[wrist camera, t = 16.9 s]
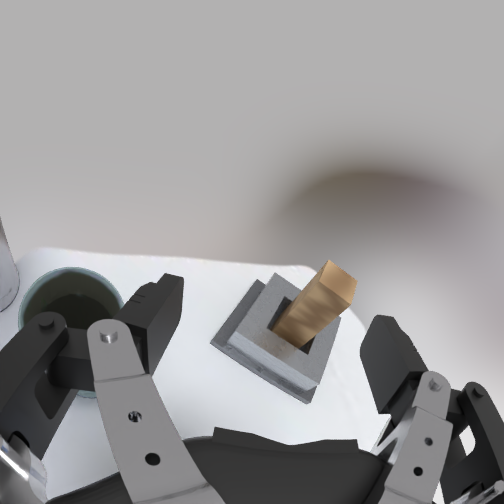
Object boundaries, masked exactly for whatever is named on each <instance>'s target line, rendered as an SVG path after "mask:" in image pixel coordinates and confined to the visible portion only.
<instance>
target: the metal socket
mask: <svg viewBox="0 0 504 504" xmlns="http://www.w3.org/2000/svg"><path fill="white" fill-rule="evenodd" d="M300 292H301V290H300V289H298V288H297V287H295V286H294V285H293V284H291V283H290V282H288V281H287V280H285V279H284V278H282V277H281V276H279V275H278V274H277V273H274V274H273V276H272V277H271V279H270V280H269V281H268V283H267V284H266V285H265V284H264V283H262V282H261V281H259V280H258V279H257V280H256V281H255V283H254V284H253V285H252V287H251V288H250V289H249V291H248V292H247V294H246V295H245V296H244V298H243V299H242V300H241V302H240V303H239V304H238V306H237V307H236V309H235V310H234V311H233V313H232V314H231V315H230V317H229V318H228V319H227V321H226V322H225V323H224V325H223V326H222V327H221V329H220V330H219V331H218V333H217V334H216V335H215V337H214V338H213V339H212V341H211V342H210V344H212V345H213V346H215V347H216V348H218V349H219V350H220V351H222V352H223V353H225V354H226V355H228V356H229V357H231V358H232V359H234V360H235V361H237V362H238V363H240V364H241V365H243V366H244V367H246V368H247V369H249V370H250V371H252V372H254V373H255V374H257V375H258V376H260V377H261V378H263V379H265V380H266V381H268V382H269V383H271V384H273V385H274V386H276V387H278V388H279V389H281V390H283V391H284V392H286V393H288V394H290V395H291V396H293V397H295V398H297V399H298V400H300V401H302V402H304V403H305V404H308V403H311V400H312V398H313V395H314V393H315V390H316V387H317V385H319V384H320V381H321V378H322V375H323V373H324V370H325V367H326V364H327V361H328V358H329V355H330V352H331V349H332V346H333V343H334V340H335V337H336V333H337V330H338V327H339V324H340V320H341V317H339V316H338V317H336V318H335V319H334V320H333V321H332V322H331V323H330V324H328V325H327V326H326V327H325V328H324V329H322V330H321V331H320V332H319V333H318V334H316V335H315V336H314V337H313V338H312V339H310V340H309V341H308V342H307V343H305V344H304V345H303V346H302V347H300V348H299V349H298V348H296V347H294V346H293V345H291V344H290V343H288V342H287V341H285V340H284V339H282V338H281V337H279V336H278V335H276V334H275V333H273V332H272V331H270V328H271V327H272V325H273V324H274V322H275V320H276V319H277V318H278V317H279V316H280V314H281V313H282V312H283V311H284V310H285V309H286V308H287V307H288V306H289V305H290V304H291V302H292V301H293V300H294V299H295V298H296V297H297V296H298V295H299V293H300Z"/></svg>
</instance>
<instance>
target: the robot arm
mask: <svg viewBox="0 0 504 504" xmlns="http://www.w3.org/2000/svg"><path fill="white" fill-rule="evenodd" d="M18 287H19V274H18V272H17V269H16V266H15V264H14V261H13V258H12V255H11V252H10V249H9V246H8V242H7V239H6V236H5V233H4V229H3V226H2V222H1V218H0V311H2V310H3V309H5V308H6V307H7V306H8V305H9V304H10V303H11V302H12V301H13V299H14V298H15V296H16V294H17V291H18ZM183 287H184V278H183V277H180V276H175V275H171V274H167V273H165V274H164V275H163V276H162V277H161V278H160V280H159V281H158V282H157V283H152V282H149V283H147V284H145V285H143V286H141V287H140V288H139V289H138V290H137V291H136V292H135V293H134V295H133V296H132V297H131V298H130V299H129V301H127V302H126V304H125V305H124V306H123V307H122V308H121V309H120V311H119V312H118V313H117V314H116V315H115V316H114V317H113V319H104V320H100V321H97V322H95V323H93V324H92V325H91V326H90V327H89V329H88V330H83V329H75V328H68V327H67V325H66V321H65V319H64V317H63V316H62V315H60V314H58V313H56V312H43V313H40V314H37V315H36V316H34V317H33V318H32V319H31V320H30V321H29V322H28V323H27V324H26V325H25V326H24V327H23V328H22V329H21V330H20V331H19V332H18V333H17V334H16V335H15V336H14V337H13V338H12V339H11V340H10V341H9V342H8V343H7V345H6V346H5V347H4V348H3V349H2V350H1V351H0V504H436V503H435V502H433V501H432V500H433V497H434V494H435V491H436V489H437V486H438V483H439V480H440V484H441V488H442V493H443V498H444V503H445V504H504V423H503V421H502V419H501V417H500V415H499V413H498V411H497V409H496V407H495V405H494V403H493V401H492V400H491V398H490V396H489V394H488V392H487V391H486V390H485V389H484V387H482V386H481V385H480V384H478V383H476V382H469V383H467V384H466V386H465V387H464V388H463V390H462V391H459V390H454V389H451V386H450V384H449V383H448V381H447V379H446V378H445V377H444V376H442V375H441V374H439V373H437V372H433V371H429V370H428V369H427V367H426V365H425V364H424V362H423V360H422V358H421V356H420V355H419V353H418V352H417V349H416V348H415V346H413V343H412V341H411V339H410V338H409V336H408V335H407V334H406V333H405V332H403V331H402V330H401V329H400V327H399V325H398V324H397V322H396V320H395V319H394V317H391V316H384V315H376V316H375V317H374V319H373V321H372V323H371V325H370V327H369V329H368V331H367V333H366V335H365V338H364V340H363V342H362V344H361V347H360V358H361V361H362V364H363V367H364V370H365V373H366V376H367V379H368V382H369V385H370V388H371V391H372V394H373V397H374V401H375V404H376V407H377V410H378V414H390V415H391V417H390V418H389V419H388V421H387V422H386V424H385V426H384V428H383V430H382V432H381V434H380V435H379V437H378V439H377V441H376V443H375V445H374V446H373V448H372V450H371V452H367V451H364V450H361V449H359V448H358V443H357V439H352V440H321V441H316V442H310V443H304V444H298V445H286V444H283V443H279V442H276V441H273V440H270V439H267V438H264V437H261V436H258V435H255V434H252V433H246V432H240V431H234V430H229V429H223V428H218V427H215V428H214V433H213V436H202V437H193V438H188V439H184V440H181V438H180V436H179V434H178V432H177V430H176V428H175V426H174V424H173V422H172V420H171V418H170V416H169V414H168V412H167V410H166V408H165V406H164V404H163V402H162V400H161V397H160V395H159V393H158V391H157V388H156V386H155V384H154V382H153V379H152V376H153V374H154V371H155V369H156V367H157V365H158V363H159V361H160V359H161V357H162V355H163V353H164V351H165V350H166V348H167V346H168V344H169V342H170V340H171V338H172V336H173V334H174V332H175V330H176V328H177V326H178V324H179V321H180V317H181V312H182V300H183ZM79 390H84V391H91V392H96V396H97V400H98V404H99V408H100V412H101V416H102V420H103V423H104V427H105V430H106V434H107V437H108V440H109V443H110V446H111V449H112V452H113V455H114V458H115V461H116V463H117V466H118V469H119V472H117V473H115V474H113V475H111V476H108V477H106V478H104V479H102V480H99V481H97V482H95V483H92V484H90V485H87V486H85V487H82V488H80V489H77V490H75V491H72V492H69V493H67V494H64V495H61V496H58V497H55V498H53V499H51V500H48V499H47V496H46V491H45V489H46V482H47V472H46V469H45V467H44V465H43V463H42V462H41V460H42V458H43V456H44V454H45V452H46V450H47V448H48V446H49V444H50V442H51V440H52V438H53V436H54V434H55V432H56V431H57V429H58V427H59V425H60V423H61V421H62V419H63V418H64V416H65V414H66V412H67V410H68V409H69V407H70V405H71V403H72V402H73V400H74V398H75V396H76V395H77V393H78V391H79ZM468 425H469V426H470V428H471V431H472V433H473V435H474V438H475V447H474V450H473V451H472V452H471V453H470V454H469V455H468V456H466V453H465V450H464V447H463V445H462V442H461V439H460V437H459V435H460V434H461V433H462V432H463V430H465V428H466V427H467V426H468Z"/></svg>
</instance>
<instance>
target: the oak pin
mask: <svg viewBox="0 0 504 504" xmlns="http://www.w3.org/2000/svg"><path fill="white" fill-rule="evenodd" d="M356 285H357V280H355V279H354V278H353V277H351V276H350V275H349V274H347V273H346V272H345V271H343V270H342V269H341V268H339V267H338V266H336V265H335V264H334V263H332V262H331V261H330V260H328V261H327V262H326V263H325V265H324V266H323V267H322V268H321V269H320V270H319V272H318V273H317V274H316V275H315V276H314V277H313V279H312V280H311V281H310V282H309V283H308V284H307V286H306V287H305V288H304V289H303V290H302V291H301V292H300V293H299V295H298V296H297V297H296V298H295V299H294V300H293V301H292V302H291V304H290V305H289V306H288V307H287V308H286V309H285V310H284V311H283V312H282V313H281V314H280V316H279V317H278V318H277V319H276V320H275V322H274V324H273V325H272V327H271V328H270V331H272V332H273V333H275V334H276V335H278V336H279V337H281V338H282V339H284V340H285V341H287V342H288V343H290V344H291V345H293V346H294V347H296V348H298V349H299V348H300V347H302V346H303V345H304V344H305V343H307V342H308V341H309V340H310V339H312V338H313V337H314V336H315V335H316V334H318V333H319V332H320V331H321V330H322V329H324V328H325V327H326V326H327V325H328V324H330V323H331V322H332V321H333V320H334V319H335V318H336V317H338V316H339V315H340V314H341V313H342V312H343V311H344V310H345V309H347V308H348V307H349V306H350V305H351V302H352V299H353V295H354V292H355V288H356Z"/></svg>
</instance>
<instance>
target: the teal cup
mask: <svg viewBox="0 0 504 504" xmlns="http://www.w3.org/2000/svg"><path fill="white" fill-rule="evenodd" d="M123 306H124V303H123V301H122V298H121V296H120V294H119V293H118V291H117V290H116V288H115V287H114V286H113V285H112V284H111V283H110V282H109V281H108V280H107V279H106V278H104V277H103V276H101V275H100V274H98V273H96V272H94V271H91V270H88V269H85V268H79V267H64V268H59V269H56V270H53V271H50V272H48V273H46V274H44V275H43V276H41V277H40V278H38V279H37V280H36V281H35V282H34V283H33V284H32V286H31V287H30V288H29V290H28V291H27V292H26V294H25V295H24V297H23V300H22V302H21V305H20V309H19V314H18V327H19V331H20V330H21V329H22V328H23V327H24V326H25V325H26V324H27V323H28V322H29V321H30V320H31V319H32V318H33V317H34V316H36V315H37V314H40V313H43V312H56V313H58V314H60V315H62V316H63V317H64V319H65V321H66V325H67V327H68V328H75V329H83V330H88V329H89V327H90V326H91V325H92V324H93V323H95V322H97V321H100V320H104V319H113V317H114V316H115V315H116V314H117V313H118V312H119V311H120V309H121V308H122V307H123ZM77 395H79V396H82V397H88V398H94V397H97V396H96V392H91V391H84V390H79V391H78V393H77Z"/></svg>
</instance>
